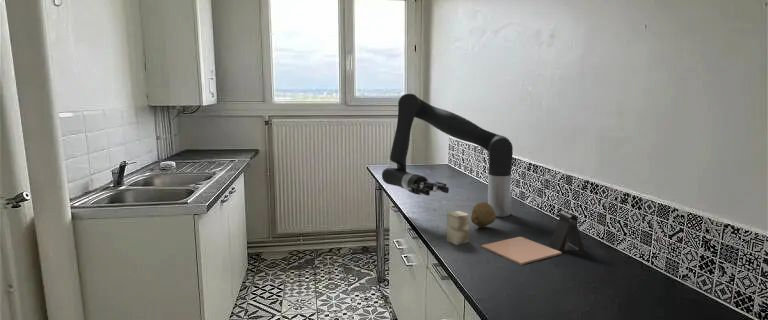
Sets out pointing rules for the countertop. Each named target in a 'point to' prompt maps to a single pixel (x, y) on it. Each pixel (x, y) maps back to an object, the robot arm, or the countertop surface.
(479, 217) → the natural sponge
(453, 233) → the maple block
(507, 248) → the terracotta tile
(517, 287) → the countertop surface
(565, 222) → the phone stand
